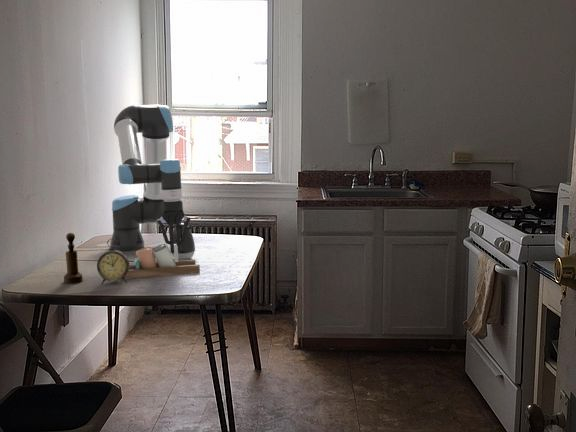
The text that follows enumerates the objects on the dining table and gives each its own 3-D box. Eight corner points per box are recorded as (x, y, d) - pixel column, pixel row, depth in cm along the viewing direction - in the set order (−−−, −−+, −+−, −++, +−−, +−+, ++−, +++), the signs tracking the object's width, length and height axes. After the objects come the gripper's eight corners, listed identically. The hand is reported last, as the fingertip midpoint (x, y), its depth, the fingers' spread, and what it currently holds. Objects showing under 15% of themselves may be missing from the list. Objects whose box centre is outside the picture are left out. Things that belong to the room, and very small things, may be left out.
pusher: (118, 272, 261) (117, 259, 260) (137, 271, 263) (137, 258, 262) (119, 277, 254) (119, 264, 253) (139, 275, 256) (139, 262, 255)
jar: (161, 270, 265) (151, 248, 262) (175, 264, 266) (165, 241, 263) (162, 274, 259) (152, 252, 257) (177, 268, 260) (167, 245, 258)
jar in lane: (141, 272, 263) (135, 250, 261) (156, 268, 264) (150, 246, 262) (142, 276, 257) (136, 253, 255) (158, 271, 259) (152, 249, 257)
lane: (119, 273, 262) (119, 265, 262) (194, 266, 271) (194, 259, 271) (121, 279, 253) (121, 271, 252) (199, 272, 261) (199, 265, 261)
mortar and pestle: (63, 280, 252) (60, 232, 250) (81, 278, 255) (78, 230, 252) (65, 284, 246) (61, 235, 244) (83, 282, 249) (80, 233, 246)
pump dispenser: (191, 262, 279) (189, 225, 277) (167, 261, 282) (165, 224, 279) (199, 256, 289) (198, 221, 287) (176, 256, 291) (174, 220, 289)
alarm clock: (97, 285, 245) (95, 240, 242) (100, 281, 250) (97, 237, 248) (128, 284, 246) (126, 239, 243) (130, 280, 251) (128, 236, 249)
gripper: (156, 202, 254) (160, 264, 257) (190, 199, 258) (194, 261, 261) (153, 200, 261) (158, 261, 264) (187, 197, 265) (191, 257, 268)
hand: (176, 261), depth 263 cm, fingers closed
